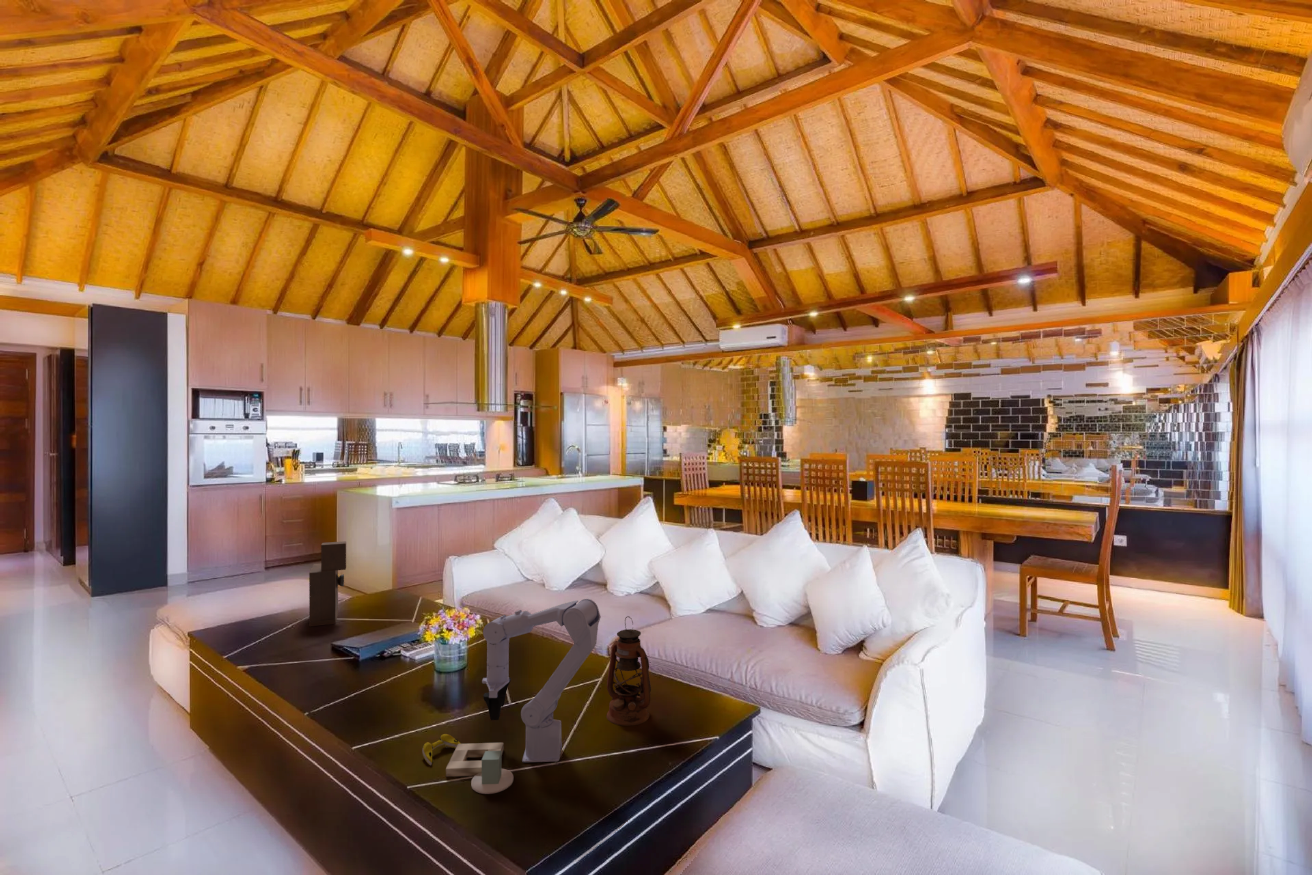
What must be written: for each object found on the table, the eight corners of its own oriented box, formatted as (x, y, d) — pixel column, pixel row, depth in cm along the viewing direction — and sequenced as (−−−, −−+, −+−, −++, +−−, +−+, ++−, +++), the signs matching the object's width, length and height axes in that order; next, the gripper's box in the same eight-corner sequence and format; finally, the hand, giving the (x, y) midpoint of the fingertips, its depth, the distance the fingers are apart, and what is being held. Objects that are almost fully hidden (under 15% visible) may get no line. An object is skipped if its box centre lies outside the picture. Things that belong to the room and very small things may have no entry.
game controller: (446, 738, 170) (449, 728, 170) (460, 753, 167) (463, 743, 166) (414, 754, 162) (418, 744, 161) (429, 770, 159) (432, 759, 158)
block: (501, 774, 153) (501, 750, 153) (498, 783, 149) (498, 759, 149) (485, 774, 153) (485, 750, 153) (481, 784, 149) (481, 759, 149)
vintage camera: (345, 622, 274) (345, 543, 273) (309, 626, 268) (308, 546, 267) (347, 610, 291) (347, 536, 290) (313, 613, 285) (313, 538, 285)
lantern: (592, 715, 186) (593, 616, 186) (620, 700, 197) (620, 607, 196) (636, 732, 176) (637, 628, 176) (663, 715, 187) (663, 616, 186)
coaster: (516, 769, 157) (516, 767, 157) (509, 793, 147) (509, 790, 147) (476, 771, 156) (476, 768, 156) (466, 794, 146) (466, 792, 146)
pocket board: (503, 749, 166) (503, 742, 166) (494, 774, 154) (494, 766, 154) (458, 751, 165) (458, 743, 165) (445, 776, 153) (445, 768, 153)
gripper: (487, 653, 174) (487, 700, 174) (477, 674, 160) (476, 725, 160) (513, 652, 175) (512, 700, 175) (505, 673, 160) (504, 725, 161)
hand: (497, 712), depth 167 cm, fingers open, 7 cm apart
